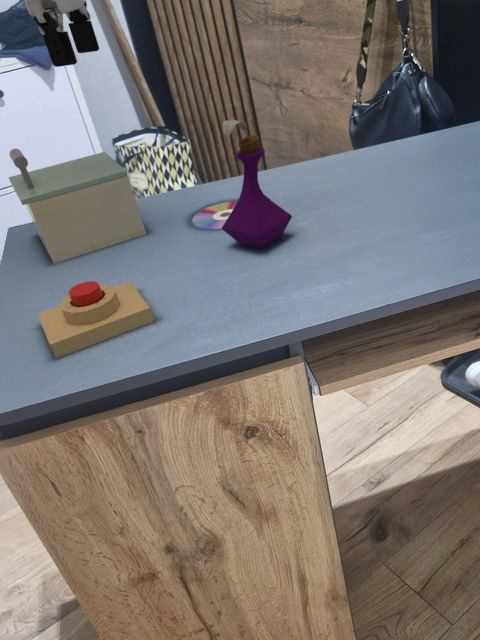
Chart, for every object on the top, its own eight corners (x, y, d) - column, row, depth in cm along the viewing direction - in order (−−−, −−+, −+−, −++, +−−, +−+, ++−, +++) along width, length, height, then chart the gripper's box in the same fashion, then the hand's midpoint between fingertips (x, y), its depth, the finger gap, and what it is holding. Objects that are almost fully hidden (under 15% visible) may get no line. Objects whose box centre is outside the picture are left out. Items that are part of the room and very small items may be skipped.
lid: (22, 205, 92) (6, 167, 88) (10, 182, 101) (-5, 147, 98) (127, 175, 97) (115, 138, 94) (106, 156, 107) (94, 122, 104)
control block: (56, 359, 75) (43, 331, 73) (43, 328, 82) (31, 301, 79) (155, 322, 79) (145, 294, 77) (135, 295, 86) (126, 269, 84)
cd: (267, 200, 109) (267, 199, 109) (247, 228, 100) (247, 227, 100) (206, 202, 111) (205, 202, 111) (181, 230, 102) (181, 230, 102)
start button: (77, 311, 76) (71, 299, 75) (71, 300, 79) (65, 288, 78) (106, 301, 78) (102, 288, 77) (99, 290, 80) (95, 278, 79)
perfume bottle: (259, 228, 100) (234, 109, 89) (296, 236, 96) (274, 112, 85) (225, 248, 95) (195, 125, 85) (263, 257, 91) (235, 129, 81)
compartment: (54, 264, 97) (28, 204, 92) (39, 237, 107) (15, 181, 102) (146, 234, 103) (127, 175, 97) (124, 211, 113) (106, 156, 107)
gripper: (28, -84, 89) (73, 50, 98) (-31, -82, 74) (28, 74, 84) (81, -91, 88) (120, 44, 98) (31, -91, 74) (83, 67, 84)
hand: (77, 58), depth 91 cm, fingers open, 9 cm apart
